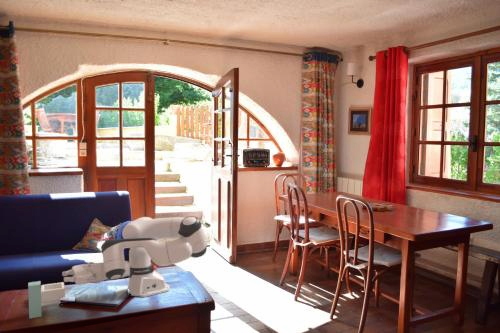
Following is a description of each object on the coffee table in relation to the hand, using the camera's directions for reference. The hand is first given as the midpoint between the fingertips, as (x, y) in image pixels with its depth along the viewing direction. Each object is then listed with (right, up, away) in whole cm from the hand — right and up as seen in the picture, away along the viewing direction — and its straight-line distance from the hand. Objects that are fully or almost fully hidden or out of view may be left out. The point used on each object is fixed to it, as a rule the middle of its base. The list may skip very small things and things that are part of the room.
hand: (63, 276), depth 196 cm
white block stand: (-13, -16, +17) cm, 26 cm away
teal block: (-11, -17, -3) cm, 21 cm away
